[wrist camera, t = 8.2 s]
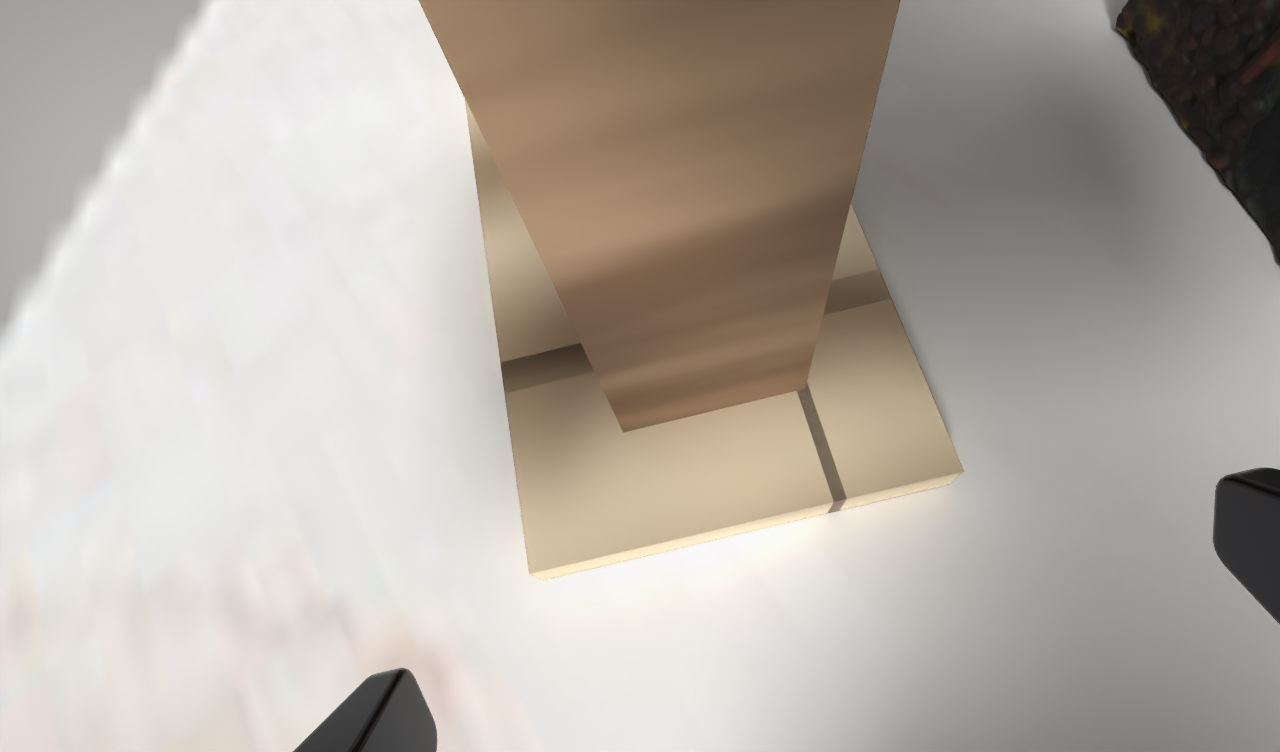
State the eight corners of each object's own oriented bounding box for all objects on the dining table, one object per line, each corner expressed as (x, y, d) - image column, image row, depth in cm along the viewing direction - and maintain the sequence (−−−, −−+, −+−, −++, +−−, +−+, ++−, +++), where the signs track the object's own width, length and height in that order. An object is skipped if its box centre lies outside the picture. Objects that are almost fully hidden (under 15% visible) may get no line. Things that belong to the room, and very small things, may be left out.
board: (948, 484, 16) (964, 471, 15) (542, 580, 17) (528, 574, 16) (717, -83, 25) (716, -117, 24) (457, -13, 26) (445, -44, 25)
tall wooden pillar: (807, 389, 16) (1274, -1434, 2) (621, 435, 17) (-68, -987, 2) (755, 235, 18) (824, -1280, 4) (589, 277, 18) (97, -1038, 4)
